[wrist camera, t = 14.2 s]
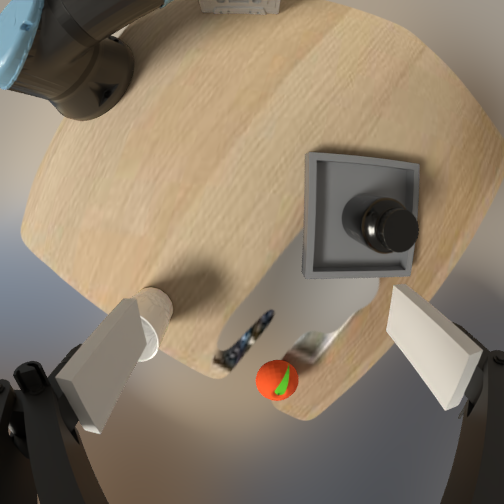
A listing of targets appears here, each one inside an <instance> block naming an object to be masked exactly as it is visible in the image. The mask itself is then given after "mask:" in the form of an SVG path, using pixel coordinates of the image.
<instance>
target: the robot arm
mask: <svg viewBox="0 0 504 504" xmlns="http://www.w3.org/2000/svg"><path fill="white" fill-rule="evenodd" d="M172 1H174V0H12V1H11V2H10V3H9V4H8V5H7V6H6V7H5V9H4V10H3V11H2V12H1V14H0V88H1V89H5V90H6V89H7V90H11V91H15V92H19V93H24V94H28V95H31V96H35V97H39V98H43V99H46V100H49V101H50V102H51V103H52V105H53V106H54V107H56V109H57V110H58V111H59V112H60V113H61V114H62V115H63V116H65V117H67V118H70V119H74V120H78V121H87V120H91V119H94V118H97V117H99V116H101V115H102V114H104V113H105V112H107V111H108V110H109V109H111V108H112V107H113V106H114V105H115V104H116V103H117V102H118V101H119V100H120V98H121V97H122V96H123V94H124V93H125V91H126V89H127V88H128V86H129V83H130V81H131V78H132V75H133V70H134V58H133V54H132V52H131V50H130V48H129V47H128V46H127V45H126V44H125V43H124V42H123V41H122V40H120V39H118V38H116V37H114V36H111V35H112V34H114V33H115V32H116V31H118V30H120V29H122V28H123V27H125V26H127V25H128V24H130V23H132V22H134V21H135V20H137V19H139V18H141V17H143V16H145V15H146V14H148V13H150V12H152V11H154V10H156V9H158V8H160V9H161V8H163V7H165V6H166V5H167V4H168V3H170V2H172ZM386 331H387V333H388V334H389V335H390V336H391V338H392V339H393V340H394V342H395V343H396V344H397V345H398V347H399V348H400V349H401V351H402V352H403V353H404V354H405V356H406V357H407V358H408V360H409V361H410V362H411V364H412V365H413V366H414V368H415V369H416V371H417V372H418V373H419V375H420V376H421V377H422V379H423V380H424V382H425V383H426V384H427V386H428V387H429V388H430V390H431V391H432V393H433V394H434V396H435V397H436V398H437V400H438V401H439V403H440V404H441V406H442V407H443V408H444V410H448V409H450V408H453V407H455V406H457V405H459V403H460V401H461V399H462V397H463V395H464V394H465V395H466V397H467V398H468V400H467V402H466V404H465V406H464V408H463V410H462V411H461V413H460V415H459V417H458V419H460V418H461V416H462V415H463V414H464V415H463V422H462V427H461V432H460V437H459V442H458V446H457V450H456V454H455V458H454V462H453V466H452V470H451V473H450V476H449V479H448V483H447V486H446V489H445V491H444V495H443V497H442V500H441V503H440V504H504V352H503V351H500V350H495V351H491V352H490V351H489V350H487V348H485V347H484V346H483V345H482V344H481V343H480V342H479V341H478V340H477V339H475V338H473V336H472V335H471V334H470V333H468V332H467V331H466V330H465V329H464V328H463V327H462V326H460V325H458V324H456V323H454V322H451V321H450V320H449V319H447V318H446V317H445V316H444V315H443V314H442V313H440V312H439V311H438V310H437V309H435V308H434V307H433V306H432V305H431V304H430V303H428V302H427V301H426V300H425V299H424V298H422V297H421V296H420V295H419V294H417V293H416V292H415V291H414V290H413V289H411V288H410V287H409V286H408V285H406V284H400V285H393V292H392V299H391V306H390V312H389V318H388V324H387V329H386ZM146 345H147V342H146V338H145V334H144V330H143V326H142V322H141V317H140V313H139V308H138V304H137V299H123V300H122V301H121V302H120V303H119V304H118V305H117V306H116V307H115V308H114V309H113V310H112V312H111V313H110V314H109V315H108V316H107V317H106V318H105V320H103V322H102V323H101V324H100V325H99V326H98V327H97V328H96V329H95V331H94V332H93V333H92V334H91V335H90V336H89V338H88V339H87V340H86V341H85V342H84V343H83V344H79V345H78V346H77V347H75V348H73V349H72V350H71V351H70V352H69V353H68V354H67V355H66V357H65V358H64V359H63V360H62V361H61V363H60V364H59V365H58V366H57V367H56V368H55V370H54V371H53V372H52V373H51V374H50V376H49V377H48V378H47V376H46V374H45V372H44V370H43V368H42V365H41V364H40V363H39V362H35V361H30V362H26V363H24V364H22V365H20V366H19V367H18V368H17V369H16V370H15V371H14V374H13V376H14V378H15V380H16V382H17V383H18V385H19V387H20V389H21V390H13V388H12V387H11V385H10V383H9V381H7V380H4V379H1V380H0V504H37V494H38V497H39V501H40V504H109V503H108V501H107V499H106V497H105V495H104V493H103V491H102V489H101V487H100V485H99V483H98V480H97V478H96V477H95V474H94V471H93V469H92V467H91V464H90V462H89V460H88V457H87V455H86V452H85V449H84V447H83V444H82V441H81V438H80V435H79V432H78V430H77V429H76V427H75V426H76V424H77V422H78V421H80V423H81V425H82V426H83V428H84V430H87V431H91V432H95V433H98V434H101V432H102V430H103V428H104V426H105V424H106V422H107V420H108V418H109V416H110V414H111V412H112V410H113V407H114V406H115V404H116V402H117V400H118V398H119V396H120V394H121V392H122V390H123V388H124V386H125V384H126V383H127V381H128V379H129V377H130V375H131V373H132V371H133V369H134V368H135V366H136V364H137V362H138V360H139V358H140V356H141V355H142V353H143V351H144V349H145V347H146ZM8 427H9V429H10V430H11V434H10V435H9V433H8Z"/></svg>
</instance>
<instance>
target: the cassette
mask: <svg viewBox="0 0 504 504" xmlns="http://www.w3.org/2000/svg"><path fill="white" fill-rule="evenodd" d="M198 1H199V4H200V7H201V10H202V12H203V13H206V12H213V13H214V14H227V13H233V14H262V15H266V14H267V13H270V14H278V13H279V8H280V0H198Z"/></svg>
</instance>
